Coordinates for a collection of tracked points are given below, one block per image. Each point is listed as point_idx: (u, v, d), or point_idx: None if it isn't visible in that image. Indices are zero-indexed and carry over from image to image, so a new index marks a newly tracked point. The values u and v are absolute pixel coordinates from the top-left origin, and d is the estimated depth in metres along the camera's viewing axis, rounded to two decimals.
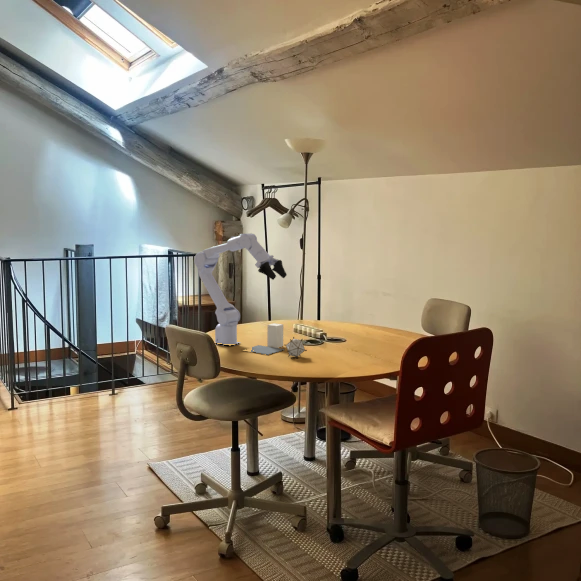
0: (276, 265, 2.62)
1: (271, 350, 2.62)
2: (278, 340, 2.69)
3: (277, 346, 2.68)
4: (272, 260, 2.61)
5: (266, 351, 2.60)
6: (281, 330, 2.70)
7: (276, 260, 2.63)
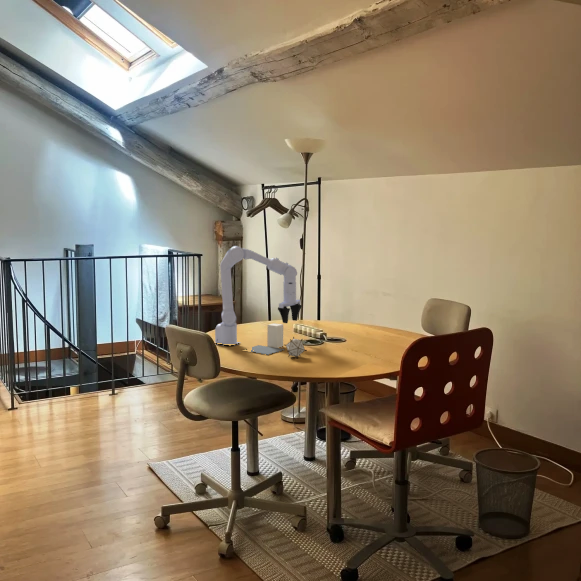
0: (295, 307, 2.81)
1: (271, 350, 2.62)
2: (278, 340, 2.69)
3: (277, 346, 2.68)
4: None
5: (266, 351, 2.60)
6: (281, 330, 2.70)
7: (298, 302, 2.81)
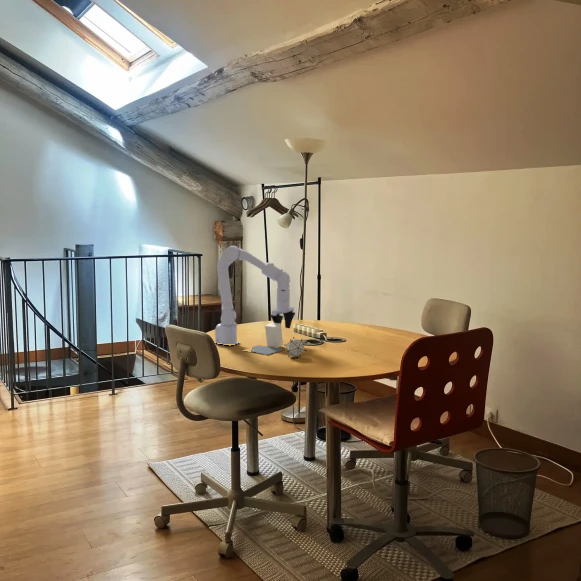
0: (288, 314, 2.77)
1: (271, 350, 2.62)
2: (277, 339, 2.68)
3: (277, 346, 2.68)
4: None
5: (266, 351, 2.60)
6: (279, 329, 2.69)
7: (291, 309, 2.78)
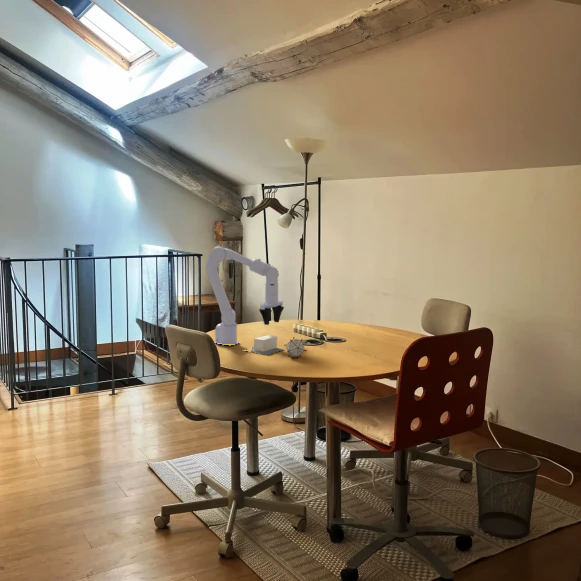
0: (277, 308, 2.78)
1: (271, 350, 2.62)
2: (272, 345, 2.65)
3: (275, 346, 2.67)
4: None
5: (266, 351, 2.60)
6: (266, 342, 2.62)
7: (280, 303, 2.79)
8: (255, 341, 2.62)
